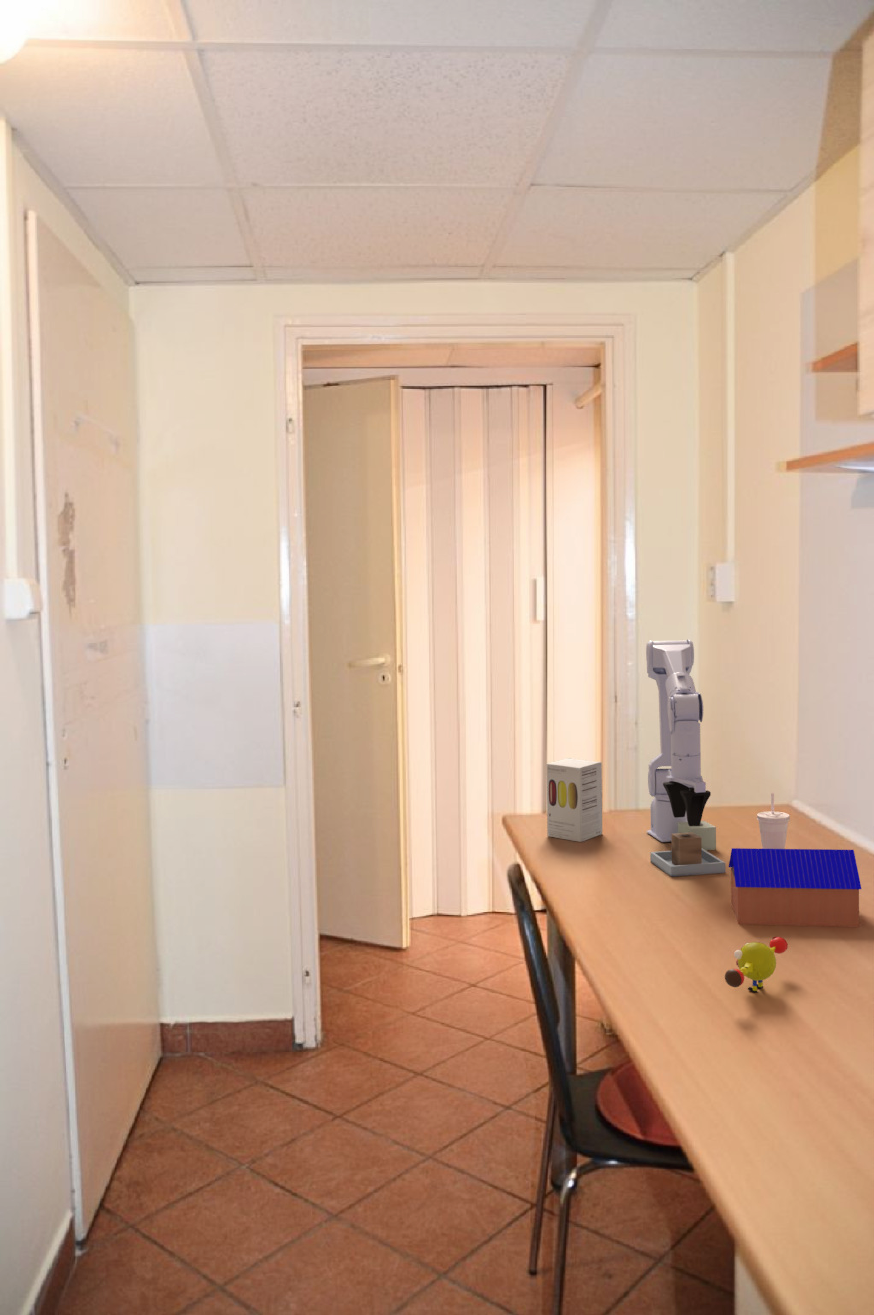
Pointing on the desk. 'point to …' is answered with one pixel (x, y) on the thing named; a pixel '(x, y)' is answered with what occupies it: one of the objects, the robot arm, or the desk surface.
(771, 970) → the toy figure
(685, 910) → the desk surface
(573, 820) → the supplement box
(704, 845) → the oversize block
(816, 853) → the house
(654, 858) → the tray
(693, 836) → the block
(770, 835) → the smoothie
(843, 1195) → the desk surface
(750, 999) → the desk surface
